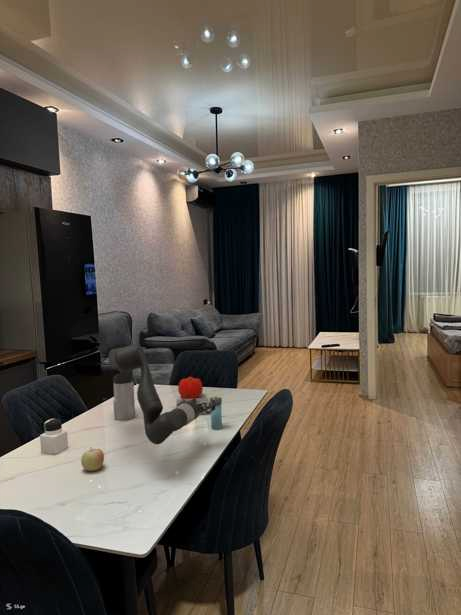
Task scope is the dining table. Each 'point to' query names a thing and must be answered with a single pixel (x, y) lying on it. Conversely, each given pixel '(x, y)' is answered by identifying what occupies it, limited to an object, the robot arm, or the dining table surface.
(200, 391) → the tomato
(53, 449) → the medicine bottle
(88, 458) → the fruit
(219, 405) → the plug
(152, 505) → the dining table surface
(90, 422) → the dining table surface
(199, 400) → the socket block
